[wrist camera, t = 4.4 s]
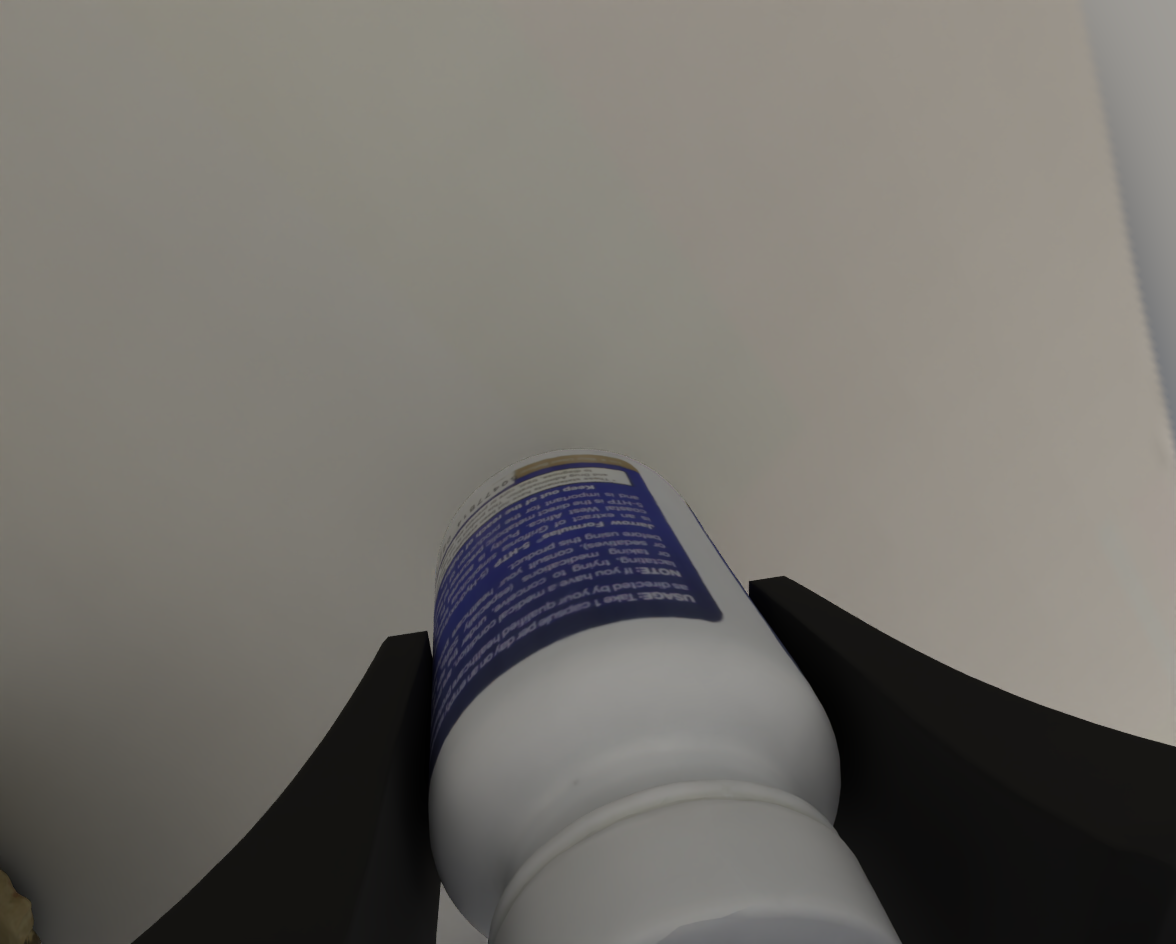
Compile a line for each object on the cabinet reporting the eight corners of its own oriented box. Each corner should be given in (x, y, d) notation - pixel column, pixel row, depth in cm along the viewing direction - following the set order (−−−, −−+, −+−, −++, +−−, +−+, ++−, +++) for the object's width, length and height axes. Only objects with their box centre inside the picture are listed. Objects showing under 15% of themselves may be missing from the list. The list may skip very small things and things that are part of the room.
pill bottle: (385, 612, 14) (296, 1190, 6) (528, 390, 13) (646, 758, 5) (605, 708, 16) (755, 1250, 8) (749, 521, 15) (1095, 944, 7)
